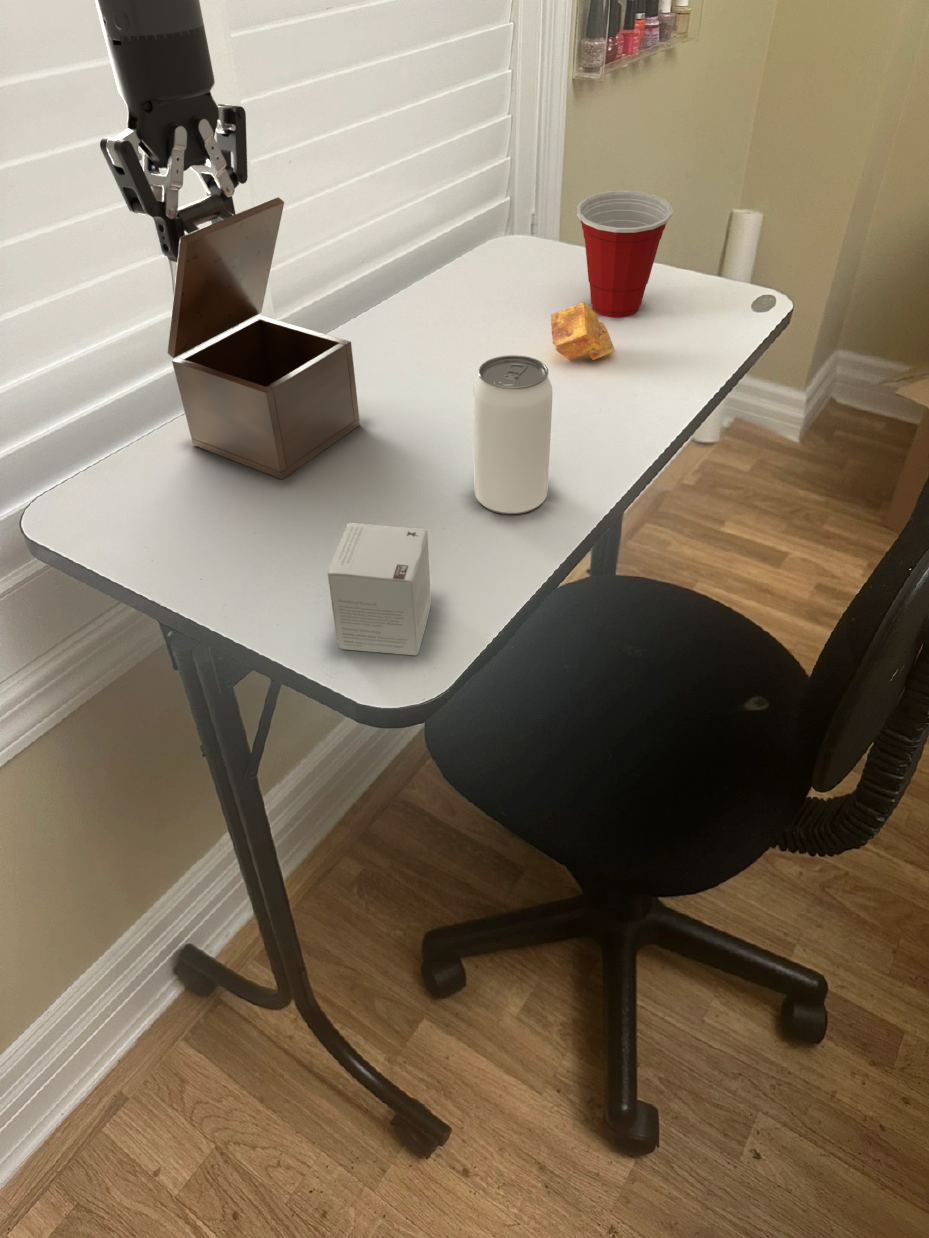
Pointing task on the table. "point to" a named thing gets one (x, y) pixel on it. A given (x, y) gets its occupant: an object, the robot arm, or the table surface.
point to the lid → (221, 269)
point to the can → (512, 434)
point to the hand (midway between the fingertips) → (203, 250)
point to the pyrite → (580, 333)
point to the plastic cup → (621, 246)
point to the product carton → (381, 588)
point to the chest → (269, 394)
